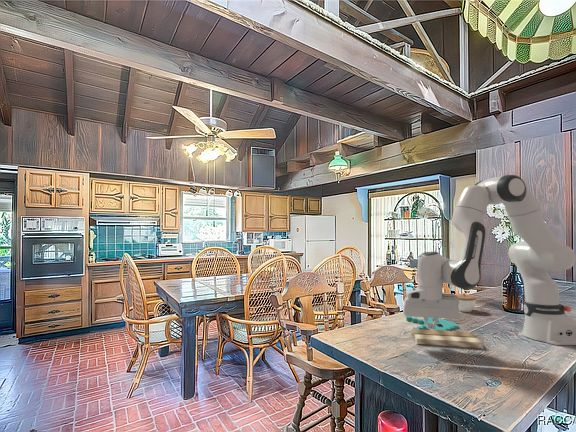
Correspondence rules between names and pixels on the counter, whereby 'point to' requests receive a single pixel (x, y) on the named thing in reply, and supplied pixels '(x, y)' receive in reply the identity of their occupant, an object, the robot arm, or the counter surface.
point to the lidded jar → (466, 302)
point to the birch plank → (448, 341)
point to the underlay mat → (443, 345)
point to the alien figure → (441, 325)
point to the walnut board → (443, 333)
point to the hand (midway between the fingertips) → (431, 328)
